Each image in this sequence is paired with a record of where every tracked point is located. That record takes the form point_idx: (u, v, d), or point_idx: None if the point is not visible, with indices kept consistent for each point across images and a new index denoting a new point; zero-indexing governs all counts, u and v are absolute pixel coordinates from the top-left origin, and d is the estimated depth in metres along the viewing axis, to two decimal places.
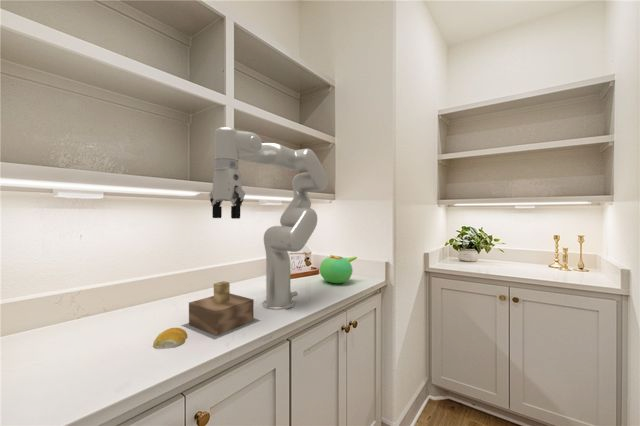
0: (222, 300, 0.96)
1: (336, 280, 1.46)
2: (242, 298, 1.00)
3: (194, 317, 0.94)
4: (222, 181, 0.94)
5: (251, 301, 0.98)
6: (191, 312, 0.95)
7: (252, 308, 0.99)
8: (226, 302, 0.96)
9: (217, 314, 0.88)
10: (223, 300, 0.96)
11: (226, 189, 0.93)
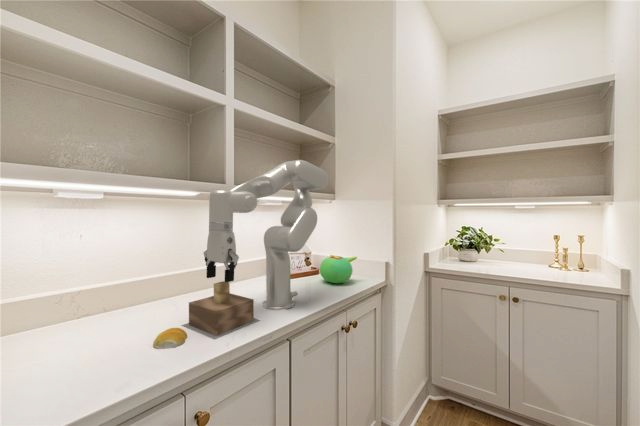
0: (222, 300, 0.96)
1: (336, 280, 1.46)
2: (242, 298, 1.00)
3: (194, 317, 0.94)
4: (216, 244, 0.94)
5: (251, 301, 0.98)
6: (191, 312, 0.95)
7: (252, 308, 0.99)
8: (226, 302, 0.96)
9: (217, 314, 0.88)
10: (223, 300, 0.96)
11: (220, 253, 0.93)
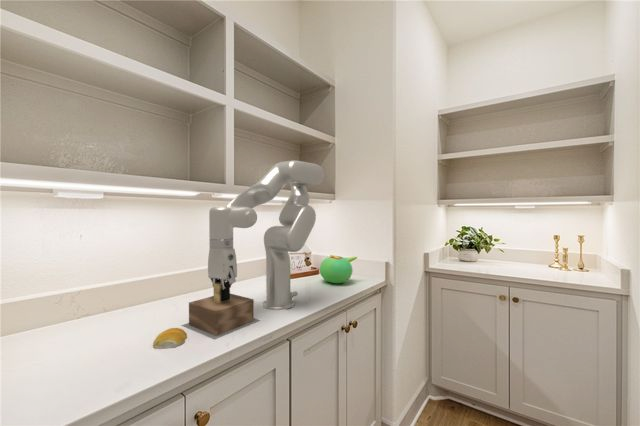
0: None
1: (336, 280, 1.46)
2: (242, 298, 1.00)
3: (194, 317, 0.94)
4: (217, 261, 0.95)
5: (251, 301, 0.98)
6: (191, 312, 0.95)
7: (252, 308, 0.99)
8: (226, 302, 0.96)
9: (217, 314, 0.88)
10: None
11: (221, 270, 0.94)
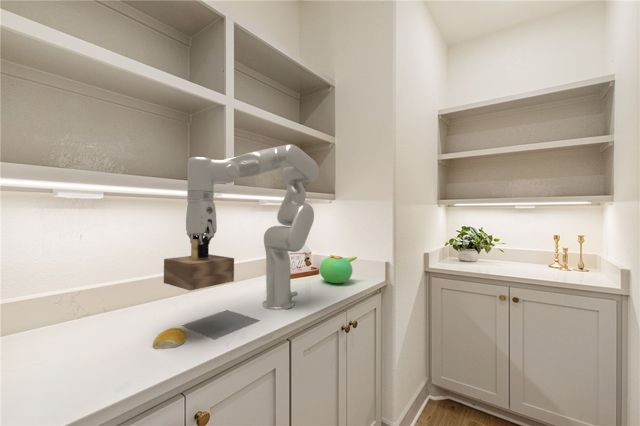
0: None
1: (336, 280, 1.46)
2: (222, 257, 0.94)
3: (169, 274, 0.87)
4: (195, 214, 0.88)
5: (231, 260, 0.92)
6: (166, 268, 0.88)
7: (232, 267, 0.92)
8: (204, 259, 0.89)
9: (192, 267, 0.81)
10: None
11: (199, 223, 0.87)
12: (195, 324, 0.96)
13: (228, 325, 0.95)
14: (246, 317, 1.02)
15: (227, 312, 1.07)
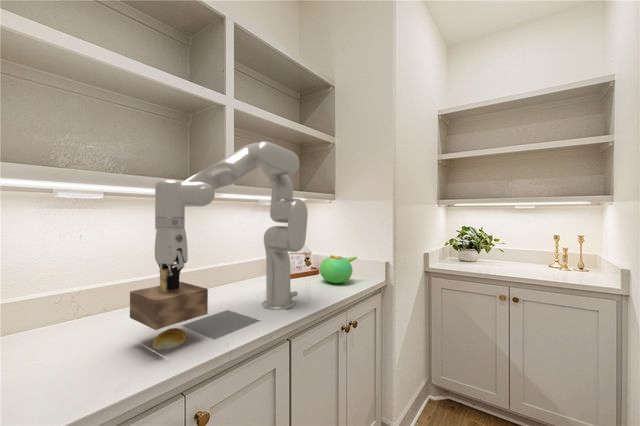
0: None
1: (336, 280, 1.46)
2: (195, 287, 0.86)
3: (135, 308, 0.80)
4: (163, 243, 0.81)
5: (205, 291, 0.84)
6: (132, 302, 0.81)
7: (206, 299, 0.85)
8: (174, 291, 0.82)
9: (157, 304, 0.74)
10: None
11: (167, 253, 0.80)
12: (195, 324, 0.96)
13: (228, 325, 0.95)
14: (246, 317, 1.02)
15: (227, 312, 1.07)
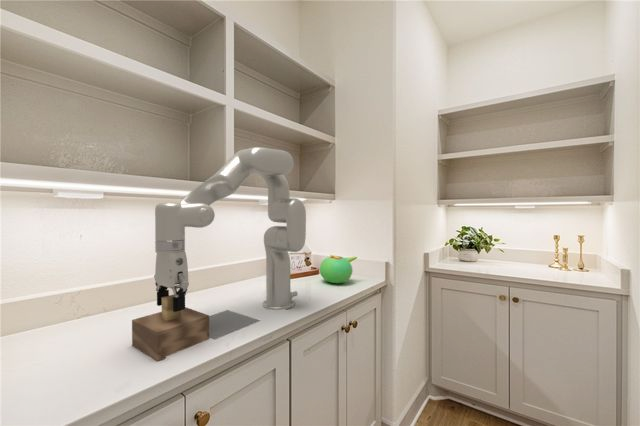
0: (171, 317, 0.82)
1: (336, 280, 1.46)
2: (197, 314, 0.86)
3: (137, 337, 0.80)
4: (164, 266, 0.81)
5: (206, 318, 0.85)
6: (134, 331, 0.81)
7: (207, 326, 0.85)
8: (176, 319, 0.82)
9: (159, 335, 0.74)
10: (172, 317, 0.82)
11: (168, 276, 0.80)
12: None
13: (228, 325, 0.95)
14: (246, 317, 1.02)
15: (227, 312, 1.07)
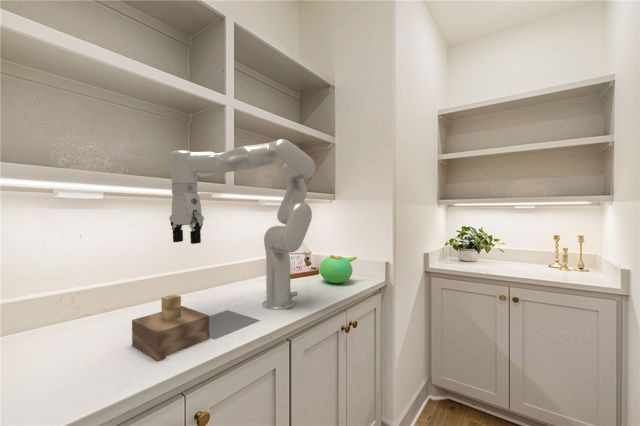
0: (171, 317, 0.82)
1: (336, 280, 1.46)
2: (197, 314, 0.86)
3: (137, 337, 0.80)
4: (180, 206, 0.92)
5: (206, 318, 0.85)
6: (134, 331, 0.81)
7: (207, 326, 0.85)
8: (176, 319, 0.82)
9: (159, 335, 0.74)
10: (172, 317, 0.82)
11: (184, 214, 0.91)
12: None
13: (228, 325, 0.95)
14: (246, 317, 1.02)
15: (227, 312, 1.07)
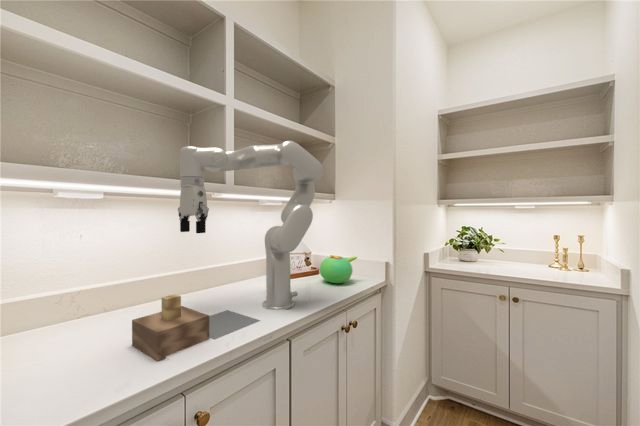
0: (171, 317, 0.82)
1: (336, 280, 1.46)
2: (197, 314, 0.86)
3: (137, 337, 0.80)
4: (187, 197, 0.99)
5: (206, 318, 0.85)
6: (134, 331, 0.81)
7: (207, 326, 0.85)
8: (176, 319, 0.82)
9: (159, 335, 0.74)
10: (172, 317, 0.82)
11: (191, 205, 0.98)
12: None
13: (228, 325, 0.95)
14: (246, 317, 1.02)
15: (227, 312, 1.07)
